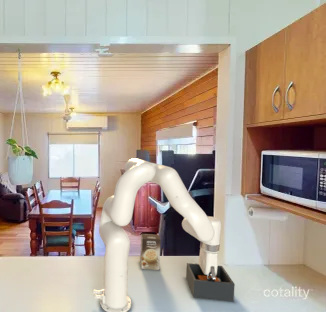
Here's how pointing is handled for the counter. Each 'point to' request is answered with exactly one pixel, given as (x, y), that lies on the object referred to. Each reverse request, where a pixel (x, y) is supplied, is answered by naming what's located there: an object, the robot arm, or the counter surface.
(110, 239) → the robot arm
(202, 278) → the block
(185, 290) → the counter surface
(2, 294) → the counter surface
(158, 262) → the coffee box
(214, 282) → the trash bin
